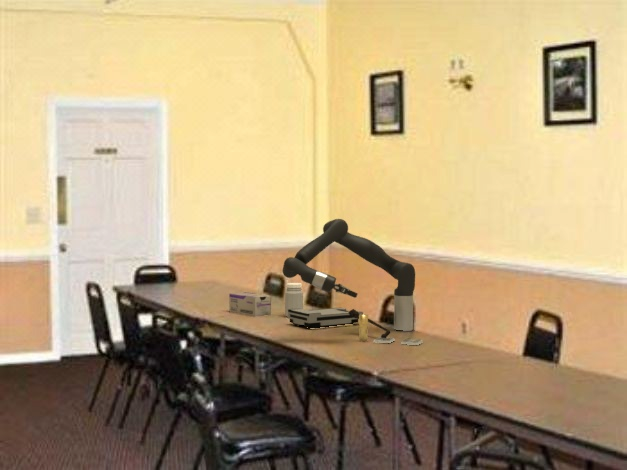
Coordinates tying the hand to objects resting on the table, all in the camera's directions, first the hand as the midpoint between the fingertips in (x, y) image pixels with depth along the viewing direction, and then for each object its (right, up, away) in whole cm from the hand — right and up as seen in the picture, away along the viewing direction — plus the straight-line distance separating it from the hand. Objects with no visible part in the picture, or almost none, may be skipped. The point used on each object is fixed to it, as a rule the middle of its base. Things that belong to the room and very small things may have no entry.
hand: (356, 295), depth 441 cm
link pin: (+3, -21, +3) cm, 21 cm away
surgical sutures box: (-55, -16, +97) cm, 112 cm away
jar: (-30, -17, +83) cm, 90 cm away
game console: (-13, -19, +53) cm, 58 cm away
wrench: (+7, -16, +15) cm, 23 cm away
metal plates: (+18, -21, -3) cm, 28 cm away
